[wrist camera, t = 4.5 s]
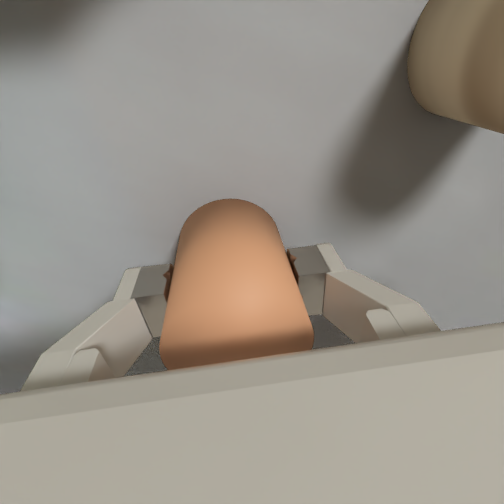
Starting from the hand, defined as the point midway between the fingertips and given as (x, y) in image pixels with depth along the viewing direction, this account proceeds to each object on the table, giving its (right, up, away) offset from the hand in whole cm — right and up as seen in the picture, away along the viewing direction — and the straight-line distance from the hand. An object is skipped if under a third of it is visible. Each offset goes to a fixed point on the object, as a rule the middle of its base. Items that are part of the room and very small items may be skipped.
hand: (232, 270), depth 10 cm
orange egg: (0, +1, +1) cm, 2 cm away
